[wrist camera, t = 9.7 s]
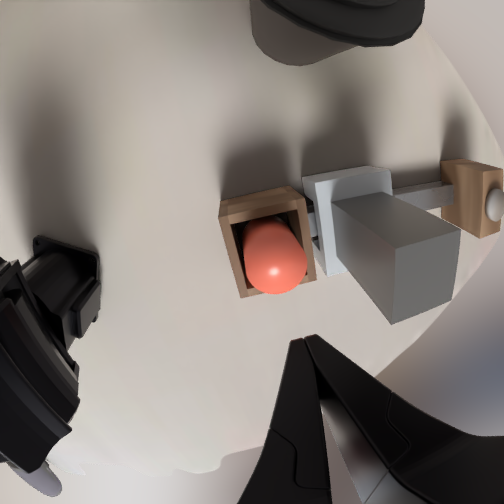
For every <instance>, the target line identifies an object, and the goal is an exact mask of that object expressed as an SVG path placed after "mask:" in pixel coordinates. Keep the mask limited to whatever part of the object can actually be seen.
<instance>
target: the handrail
mask: <svg viewBox="0 0 504 504" xmlns="http://www.w3.org/2000/svg"><path fill="white" fill-rule="evenodd" d="M392 194H393V196H394V197H396V198H398V199H401V200H403V201H405V202H407V203H409V204H412V205H414V206H416V207H418V208H420V209H422V210H424V211H425V210H430V209H434V208H438V207H443V206H447V205H451V204H453V199H454V190H453V184H450V183H447V182H444V181H436V182H430V183H424V184H419V185H413V186H407V187H402V188H396V189H392ZM306 208H307V214H308V220H309V227H310V234H311V237H314V236H318V230H317V223H316V216H315V209H314V205H311V206H306Z"/></svg>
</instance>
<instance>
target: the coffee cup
mask: <svg viewBox="0 0 504 504" xmlns="http://www.w3.org/2000/svg"><path fill="white" fill-rule="evenodd" d="M424 9H425V0H250V10H251V21H252V32H253V37H254V39H255V42H256V44H257V46H258V47H259V48H260V49H261V50H262V51H263V52H264V54H266V55H267V56H269V57H270V58H272V59H273V60H275V61H278V62H281V63H283V64H286V65H295V66H303V65H308V64H313V63H315V62H318V61H320V60H322V59H325V58H327V57H330V56H332V55H335V54H337V53H340V52H343V51H345V50H348V49H351V48H354V47H357V46H362V47H379V46H393V45H395V44H398V43H400V42H402V41H404V40H407V39H409V38H411V37H412V36H413V34H414V33H415V32H416V30H417V29H418V28H419V26H420V25H421V23H422V17H423V13H424Z"/></svg>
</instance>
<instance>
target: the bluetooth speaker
mask: <svg viewBox="0 0 504 504" xmlns="http://www.w3.org/2000/svg"><path fill="white" fill-rule="evenodd" d="M6 463H7V464H8V465H9V466H10V468H11V469H12V470H13V471H15V472H16V473H17V474H18V475H19V476H20V477H21V478H22V479H23V480H25V481H26V482H27V483H28V484H29V485H31V486H32V487H34V488H35V489H37V490H38V491H40V492H41V493H43V494H45V495H47V496H50V497H55V496H58V495H59V494H60V493H61V491H62V485H61V482H60V480H59V479H58V478H57V477H56V475H55V474H54V473H53V472H52V471H51V470H50V468H49V464H48V463H47V462H46V461H45V460H44V462H43V464H42V466H41V467H40V468H39V469H37V470H36V471H34V472H32V473H30V474H26V473H24V472H23V471H22V470H20V469H19V468H18V467H16V466H15V465H14V464H12V463H11V462H6Z"/></svg>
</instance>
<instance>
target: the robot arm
mask: <svg viewBox="0 0 504 504" xmlns="http://www.w3.org/2000/svg"><path fill="white" fill-rule="evenodd" d="M38 241H39V243H40V244H39V243H38ZM33 253H34V256H33V257H32V258H31V259H29V260H28V261H27V262H26V263H24V264H23V265H22V266H21V265H20V263H19V260H18V259H17V260H15V261H12V262H10V261H9V262H7V261H5V260H4V259H2V258H1V257H0V463H3V462H11V463H12V464H14V465H15V466H16V467H18V468H19V469H20V470H22V471H23V472H24V473H26V474H30V473H32V472H34V471H36V470H37V469H39V468H40V467H41V466H42V464H43V462H44V460H45V458H46V457H47V455H48V453H49V452H50V450H51V449H52V447H53V446H54V445H55V444H56V443H57V442H58V441H59V440H60V439H61V438H63V437H64V436H66V435H67V434H69V433H70V432H71V431H72V428H71V427H70V426H69V425H68V424H69V423H70V421H71V420H72V418H73V416H74V414H75V413H76V411H77V409H78V406H79V403H80V398H79V397H78V384H79V383H78V376H79V366H78V364H77V363H76V361H73V359H72V358H71V356H70V355H69V353H68V352H67V351H68V350H69V348H70V346H71V344H72V343H73V341H74V339H75V338H79V339H80V338H82V337H83V336H84V334H85V332H86V331H87V329H88V327H89V325H90V324H91V322H95V321H96V320H97V318H98V311H99V309H100V292H101V283H100V281H99V280H98V276H99V257H98V255H97V254H96V253H94V252H90V251H87V250H84V249H81V248H77V247H74V246H71V245H68V244H65V243H61V242H58V241H55V240H52V239H49V238H46V237H43V236H40V235H38V236H36V237H35V238H34V239H33ZM91 258H93V259H94V261H95V262H94V261H92V260H91ZM391 392H392V391H391V390H390V389H389V388H387V387H386V386H385V385H383V384H382V383H381V382H379V381H378V380H377V379H375V378H374V377H373V376H371V375H370V374H369V373H367V372H366V371H365V370H363V369H362V368H361V367H359V366H358V365H357V364H355V363H354V362H353V361H351V360H350V359H349V358H347V357H346V356H345V355H343V354H342V353H341V352H339V351H338V350H337V349H335V348H334V347H333V346H332V345H330V344H329V343H328V342H326V341H325V340H324V339H322V338H321V337H320V336H318V335H317V334H314V335H310V336H306V337H304V339H303V338H298V339H295V340H291V341H290V343H289V348H288V353H287V357H286V361H285V366H284V370H283V375H282V379H281V383H280V387H279V391H278V395H277V399H276V403H275V407H274V411H273V415H272V419H271V423H270V426H269V428H270V429H269V430H268V433H267V437H266V440H265V443H264V446H263V450H262V452H261V455H260V458H259V460H258V462H257V465H256V467H255V470H254V472H253V474H252V476H251V478H250V480H249V482H248V484H247V486H246V488H245V489H244V491H243V493H242V495H241V497H240V499H239V501H238V503H237V504H332V498H331V497H332V496H331V485H330V476H329V467H328V458H327V449H326V441H325V433H324V426H323V419H322V411H323V413H324V416H325V418H326V420H327V423H328V425H329V427H330V430H331V432H332V434H333V437H334V439H335V441H336V443H337V446H338V448H339V451H340V453H341V455H342V458H343V460H344V462H345V464H346V467H347V469H348V471H349V474H350V476H351V478H352V481H353V483H354V485H355V488H356V490H357V492H358V495H359V497H360V499H361V502H362V504H504V436H476V435H471V434H468V433H465V432H463V431H461V430H459V429H456V428H455V427H452V426H450V425H448V424H446V423H444V422H442V421H440V420H439V419H436V418H435V417H433V416H431V415H429V414H427V413H425V412H423V411H422V410H420V409H418V408H416V407H415V406H413V405H412V404H410V403H409V402H407V401H406V400H404V399H403V398H401V397H400V396H399V395H397V394H396V393H395V392H392V393H391ZM321 409H322V411H321Z"/></svg>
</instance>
